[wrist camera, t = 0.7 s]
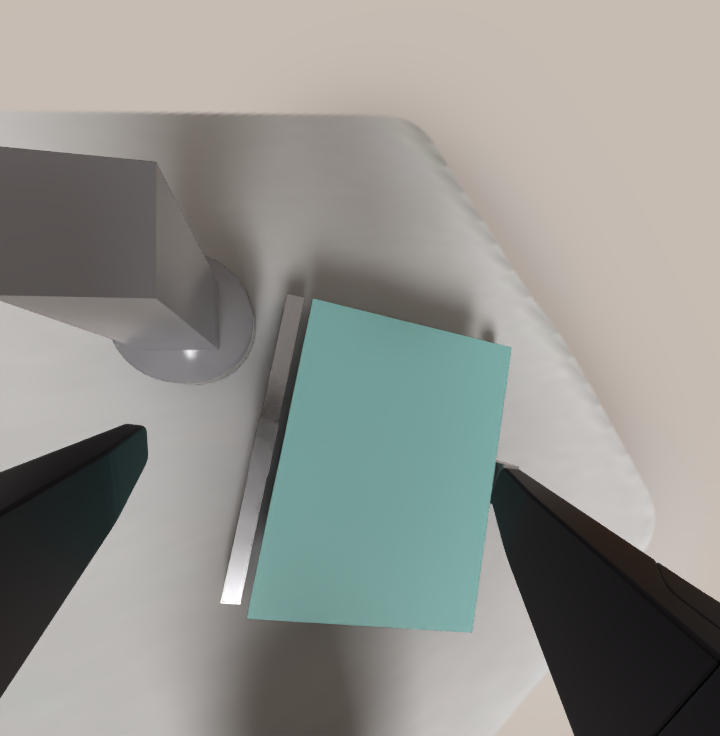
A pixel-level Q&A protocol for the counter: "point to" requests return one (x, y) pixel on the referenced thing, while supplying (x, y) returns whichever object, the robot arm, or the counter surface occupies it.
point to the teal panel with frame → (270, 452)
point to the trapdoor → (382, 476)
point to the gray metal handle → (118, 263)
